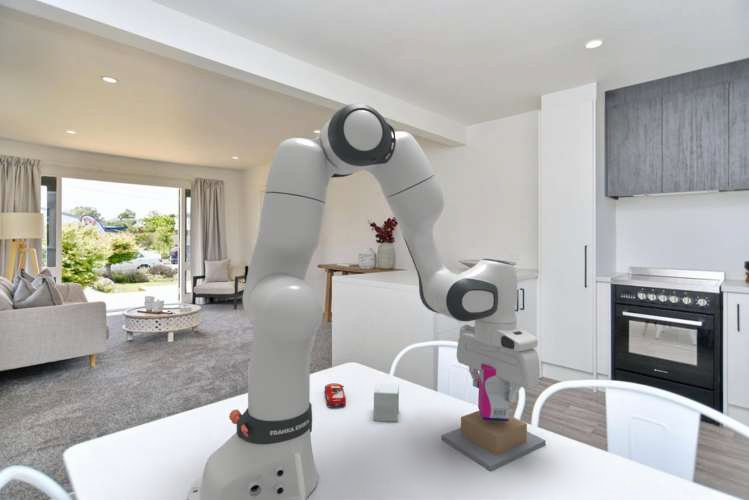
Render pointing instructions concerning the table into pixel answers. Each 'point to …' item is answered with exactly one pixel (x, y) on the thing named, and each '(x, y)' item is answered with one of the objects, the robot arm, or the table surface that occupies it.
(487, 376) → the supplement box
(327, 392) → the race car
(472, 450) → the build base
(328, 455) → the table surface
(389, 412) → the product box
